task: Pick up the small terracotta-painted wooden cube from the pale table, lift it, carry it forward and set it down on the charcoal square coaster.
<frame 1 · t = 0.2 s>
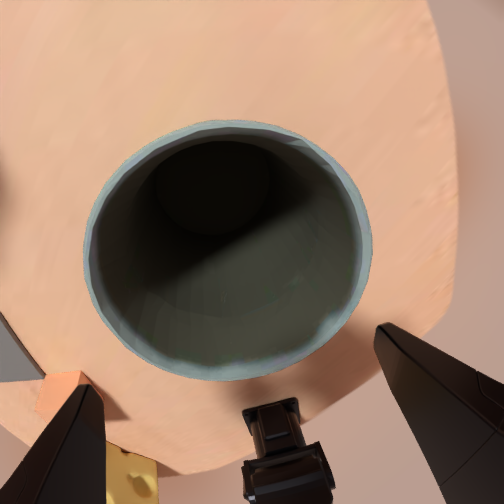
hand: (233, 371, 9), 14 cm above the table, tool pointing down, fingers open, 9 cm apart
cube: (74, 386, 28), on the table
cheese: (113, 457, 37), on the table
grey-blue cup: (211, 180, 21), on the table
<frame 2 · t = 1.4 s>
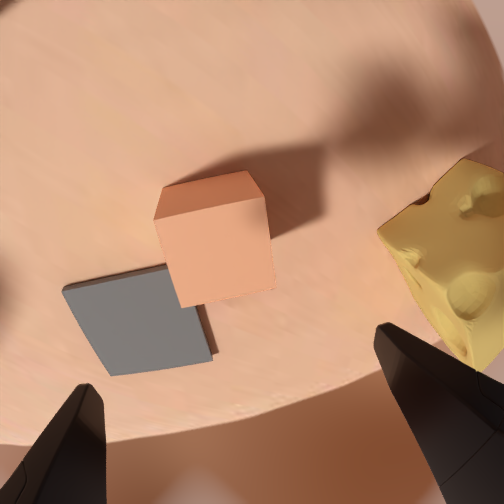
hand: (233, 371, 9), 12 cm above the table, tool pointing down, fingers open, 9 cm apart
coaster: (140, 325, 22), on the table
cube: (212, 216, 19), on the table
cheese: (440, 232, 23), on the table
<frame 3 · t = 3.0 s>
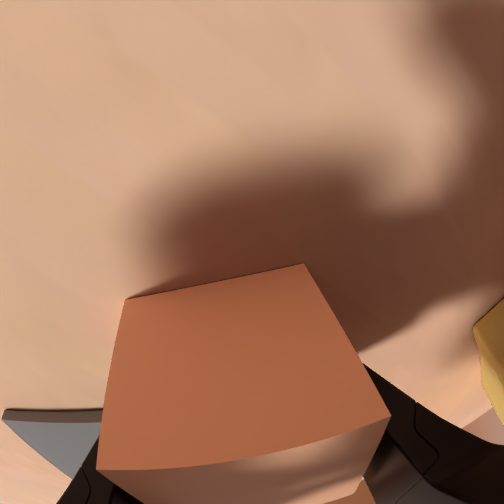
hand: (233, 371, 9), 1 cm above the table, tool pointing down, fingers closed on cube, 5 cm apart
coaster: (120, 457, 12), on the table
cube: (229, 347, 10), on the table, touching gripper
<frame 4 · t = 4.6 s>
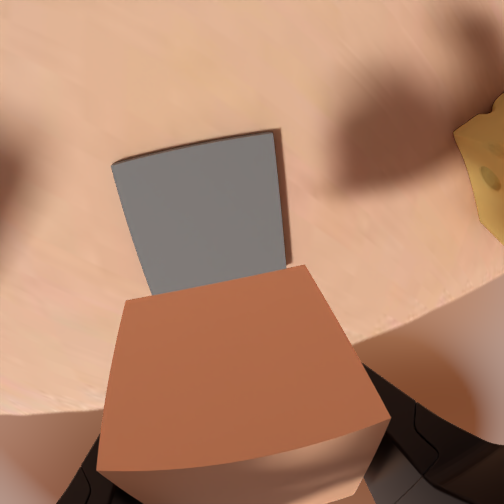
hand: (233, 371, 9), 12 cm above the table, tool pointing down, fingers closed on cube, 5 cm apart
coaster: (204, 218, 19), on the table
cube: (230, 347, 10), point 11 cm above the table, touching gripper
cheese: (499, 152, 20), on the table
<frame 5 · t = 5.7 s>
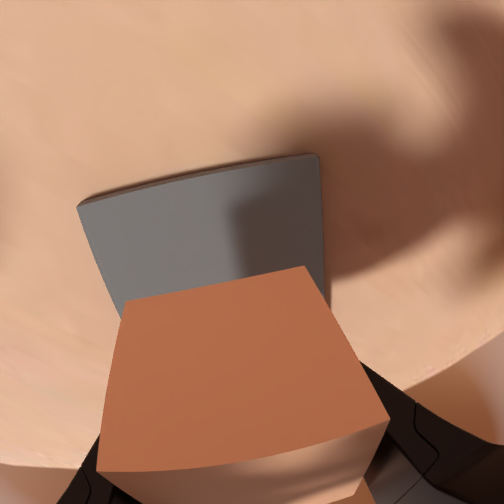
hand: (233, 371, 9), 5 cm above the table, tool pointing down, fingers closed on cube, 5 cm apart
coaster: (216, 277, 13), on the table
cube: (229, 348, 10), point 4 cm above the table, touching gripper
when the fingers open (3 cm above the table, at t = 6.5 s): cube drops 1 cm, resting on coaster.
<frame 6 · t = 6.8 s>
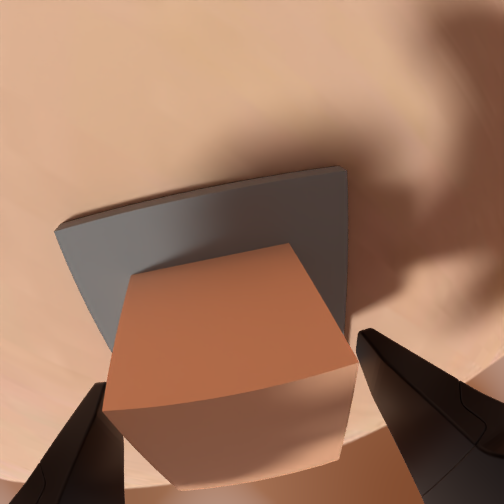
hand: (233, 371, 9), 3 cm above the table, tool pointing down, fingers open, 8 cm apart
coaster: (222, 309, 11), on the table
cube: (223, 320, 11), point 1 cm above the table, touching coaster
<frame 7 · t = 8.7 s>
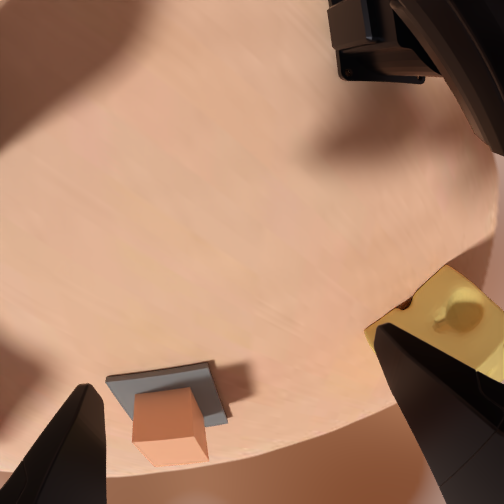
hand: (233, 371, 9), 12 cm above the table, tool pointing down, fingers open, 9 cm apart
coaster: (170, 401, 26), on the table
cube: (170, 406, 26), point 1 cm above the table, touching coaster
cheese: (419, 321, 28), on the table
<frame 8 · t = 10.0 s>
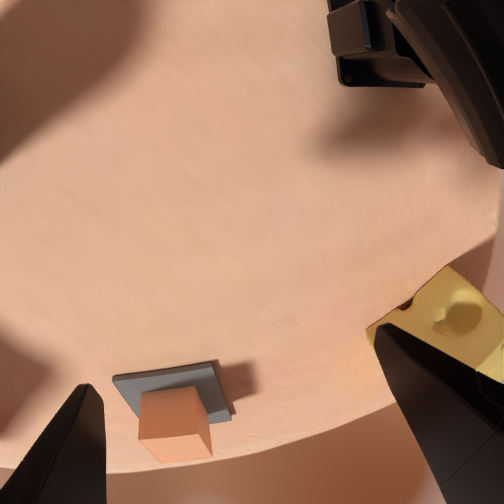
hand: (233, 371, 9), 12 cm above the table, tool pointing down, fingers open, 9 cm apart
coaster: (175, 399, 27), on the table
cube: (175, 404, 26), point 1 cm above the table, touching coaster
cheese: (420, 320, 28), on the table
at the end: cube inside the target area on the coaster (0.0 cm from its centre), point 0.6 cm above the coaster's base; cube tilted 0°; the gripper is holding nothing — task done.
